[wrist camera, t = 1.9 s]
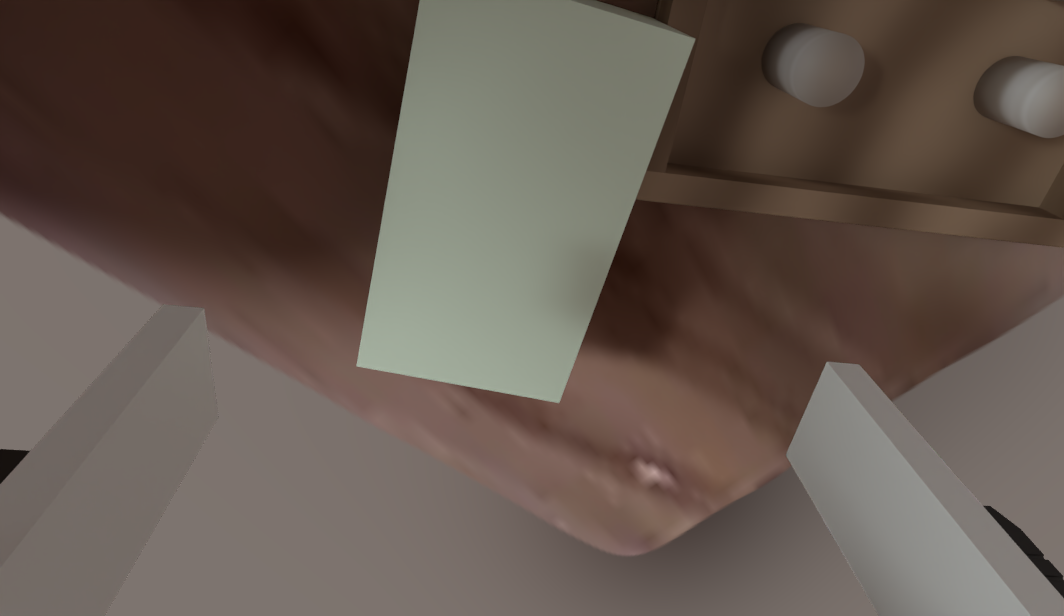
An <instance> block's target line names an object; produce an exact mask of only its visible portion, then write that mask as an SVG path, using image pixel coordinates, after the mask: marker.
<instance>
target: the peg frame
mask: <svg viewBox="0 0 1064 616" xmlns="http://www.w3.org/2000/svg"><path fill="white" fill-rule="evenodd" d="M654 19H656V20H658V21H660V22H662V23H664V24H666V25H668V26H670V27H672V28H674V29H676V30H678V31H681V32H683V33H685V34H687V35H689V36H691V37H693V38H695V42H694V45H693V47H692V50H691V53H690V55H689V58H688V61H687V63H686V66H685V69H684V71H683V74H682V77H681V79H680V82H679V85H678V87H677V90H676V93H675V95H674V98H673V101H672V103H671V106H670V109H669V111H668V114H667V117H666V119H665V122H664V125H663V127H662V130H661V133H660V135H659V138H658V141H657V143H656V146H655V149H654V151H653V154H652V157H651V159H650V162H649V165H648V167H647V170H646V173H645V175H644V178H643V181H642V183H641V186H640V189H639V191H638V194H637V197H636V199H635V200H644V201H653V202H661V203H670V204H679V205H688V206H697V207H706V208H715V209H724V210H733V211H742V212H751V213H760V214H769V215H778V216H787V217H796V218H805V219H814V220H822V221H831V222H840V223H849V224H858V225H867V226H876V227H885V228H894V229H903V230H912V231H921V232H930V233H939V234H948V235H957V236H966V237H975V238H983V239H992V240H1001V241H1010V242H1019V243H1028V244H1037V245H1046V246H1055V247H1064V0H658V4H657V8H656V13H655V18H654Z"/></svg>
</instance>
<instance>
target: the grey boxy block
mask: <svg viewBox="0 0 1064 616" xmlns="http://www.w3.org/2000/svg"><path fill="white" fill-rule="evenodd" d="M694 42H695V38H693V37H691V36H689V35H687V34H685V33H683V32H681V31H678V30H676V29H674V28H672V27H670V26H668V25H666V24H664V23H662V22H660V21H658V20H656V19H654V18H652V17H648V16H645V15H642V14H639V13H635V12H632V11H629V10H626V9H623V8H619V7H616V6H613V5H610V4H606V3H603V2H600V1H597V0H420V2H419V8H418V14H417V19H416V25H415V31H414V37H413V43H412V48H411V54H410V60H409V66H408V71H407V77H406V83H405V89H404V94H403V100H402V106H401V112H400V118H399V123H398V129H397V135H396V141H395V146H394V152H393V158H392V164H391V169H390V175H389V181H388V187H387V193H386V198H385V204H384V210H383V216H382V221H381V227H380V233H379V239H378V245H377V250H376V256H375V262H374V268H373V273H372V279H371V285H370V291H369V296H368V302H367V308H366V314H365V320H364V325H363V331H362V337H361V343H360V348H359V354H358V360H357V366H358V367H364V368H369V369H375V370H380V371H386V372H391V373H397V374H402V375H408V376H413V377H419V378H424V379H430V380H435V381H441V382H446V383H452V384H457V385H463V386H468V387H474V388H479V389H485V390H490V391H496V392H502V393H507V394H513V395H518V396H524V397H529V398H535V399H540V400H546V401H551V402H557V403H559V402H560V399H561V397H562V394H563V391H564V389H565V386H566V383H567V381H568V378H569V375H570V373H571V370H572V367H573V365H574V362H575V359H576V357H577V354H578V351H579V349H580V346H581V343H582V341H583V338H584V335H585V333H586V330H587V327H588V325H589V322H590V319H591V317H592V314H593V311H594V309H595V306H596V303H597V301H598V298H599V295H600V293H601V290H602V287H603V285H604V282H605V279H606V277H607V274H608V271H609V269H610V266H611V263H612V261H613V258H614V255H615V253H616V250H617V247H618V245H619V242H620V239H621V237H622V234H623V231H624V229H625V226H626V223H627V221H628V218H629V215H630V213H631V210H632V207H633V205H634V202H635V199H636V197H637V194H638V191H639V189H640V186H641V183H642V181H643V178H644V175H645V173H646V170H647V167H648V165H649V162H650V159H651V157H652V154H653V151H654V149H655V146H656V143H657V141H658V138H659V135H660V133H661V130H662V127H663V125H664V122H665V119H666V117H667V114H668V111H669V109H670V106H671V103H672V101H673V98H674V95H675V93H676V90H677V87H678V85H679V82H680V79H681V77H682V74H683V71H684V69H685V66H686V63H687V61H688V58H689V55H690V53H691V50H692V47H693V45H694Z"/></svg>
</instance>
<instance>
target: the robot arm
mask: <svg viewBox="0 0 1064 616" xmlns="http://www.w3.org/2000/svg"><path fill="white" fill-rule="evenodd" d="M218 417H219V416H218V408H217V401H216V393H215V386H214V379H213V371H212V363H211V356H210V348H209V341H208V333H207V326H206V318H205V311H204V308H198V307H186V306H175V305H162V306H161V307H160V308H159V310H158V311H157V312H156V313H155V314H154V315H153V316H152V317H151V318H150V319H149V321H148V322H147V323H146V324H145V325H144V326H143V327H142V328H141V330H140V331H139V332H138V333H137V334H136V335H135V336H134V337H133V338H132V339H131V341H130V342H129V343H128V344H127V345H126V346H125V347H124V348H123V349H122V351H121V352H120V353H119V354H118V355H117V356H116V357H115V358H114V359H113V360H112V362H111V363H110V364H109V365H108V366H107V367H106V368H105V369H104V371H102V373H101V374H100V375H99V376H98V377H97V378H96V379H95V380H94V381H93V382H92V384H91V385H90V386H89V387H88V388H87V389H86V390H85V391H84V392H83V394H82V395H81V396H80V397H79V398H78V399H77V400H76V401H75V402H74V403H73V405H72V406H71V407H70V408H69V409H68V410H67V411H66V412H65V413H64V415H63V416H62V417H61V418H60V419H59V420H58V421H57V422H56V424H54V426H53V427H52V428H51V429H50V430H49V431H48V432H47V433H46V435H44V437H43V438H42V439H41V440H40V441H39V442H38V443H37V444H36V445H35V447H34V448H33V449H32V450H31V451H23V450H6V449H1V450H0V616H105V615H106V613H107V611H108V609H109V608H110V606H111V604H112V602H113V601H114V599H115V597H116V595H117V594H118V592H119V590H120V588H121V587H122V585H123V583H124V581H125V580H126V578H127V576H128V574H129V573H130V571H131V569H132V567H133V566H134V564H135V562H136V560H137V559H138V557H139V555H140V553H141V552H142V550H143V548H144V546H145V545H146V543H147V541H148V539H149V538H150V536H151V534H152V533H153V531H154V529H155V527H156V526H157V524H158V522H159V520H160V518H161V517H162V515H163V513H164V512H165V510H166V508H167V506H168V505H169V503H170V501H171V499H172V497H173V496H174V494H175V492H176V491H177V489H178V487H179V485H180V484H181V482H182V480H183V478H184V477H185V475H186V473H187V472H188V470H189V468H190V466H191V465H192V463H193V461H194V459H195V457H196V456H197V454H198V452H199V450H200V449H201V447H202V445H203V444H204V441H205V440H206V438H207V437H208V435H209V433H210V431H211V430H212V428H213V426H214V424H215V423H216V421H217V419H218ZM786 457H787V458H788V460H789V462H790V463H791V465H792V467H793V469H794V470H795V472H796V474H797V476H798V477H799V479H800V481H801V483H802V484H803V486H804V487H805V489H806V491H807V493H808V495H809V496H810V498H811V499H812V502H813V503H814V505H815V507H816V509H817V510H818V512H819V514H820V515H821V517H822V519H823V521H824V522H825V524H826V526H827V528H828V529H829V531H830V533H831V534H832V536H833V538H834V539H835V541H836V543H837V545H838V547H839V548H840V550H841V552H842V554H843V555H844V557H845V558H846V561H847V562H848V564H849V566H850V567H851V569H852V571H853V573H854V574H855V576H856V578H857V579H858V581H859V583H860V585H861V586H862V588H863V590H864V592H865V594H866V595H867V597H868V599H869V600H870V602H871V604H872V606H873V607H874V609H875V611H876V613H877V614H878V616H1064V580H1063V575H1062V574H1061V573H1060V572H1059V571H1058V570H1057V569H1056V568H1055V567H1054V566H1053V564H1051V562H1050V561H1049V560H1045V559H1044V558H1043V556H1044V555H1043V553H1042V552H1041V551H1040V550H1039V549H1038V548H1037V547H1036V546H1035V545H1034V543H1033V542H1032V541H1031V540H1030V539H1029V538H1028V537H1027V536H1026V535H1025V533H1024V532H1023V531H1021V529H1020V528H1018V527H1017V526H1015V525H1014V524H1013V523H1012V522H1011V521H1009V520H1008V519H1007V518H1005V517H1004V516H1003V515H1001V514H1000V513H999V512H997V511H996V510H995V509H993V508H992V507H991V506H983V505H982V504H981V503H980V502H979V501H978V500H977V499H976V497H975V496H974V495H973V494H972V493H971V492H970V491H969V489H968V488H967V487H966V486H965V485H964V484H963V483H962V482H961V480H960V479H959V478H958V477H957V476H956V475H955V473H954V472H953V471H952V470H951V469H950V468H949V467H948V465H947V464H946V463H945V462H944V461H943V460H942V459H941V457H940V456H939V455H938V454H937V453H936V452H935V451H934V449H933V448H932V447H931V446H930V445H929V444H928V443H927V441H926V440H925V439H924V438H923V437H922V436H921V435H920V433H919V432H918V431H917V430H916V429H915V428H914V427H913V425H912V424H911V423H910V422H909V421H908V420H907V419H906V417H905V416H904V415H903V414H902V413H901V412H900V411H899V409H898V408H897V407H896V406H895V405H894V404H893V403H892V401H891V400H890V399H889V398H888V397H887V396H886V395H885V393H884V392H883V391H882V390H881V389H880V388H879V387H878V385H877V384H876V383H875V382H874V381H873V380H872V379H871V377H870V376H869V375H868V374H867V373H866V372H865V371H864V369H863V368H862V367H861V366H860V365H859V364H849V363H837V362H827V363H826V365H825V367H824V369H823V372H822V374H821V376H820V378H819V381H818V383H817V385H816V388H815V390H814V392H813V394H812V397H811V399H810V401H809V403H808V406H807V408H806V410H805V412H804V415H803V417H802V419H801V422H800V424H799V426H798V428H797V431H796V433H795V435H794V437H793V440H792V442H791V444H790V446H789V449H788V451H787V453H786Z"/></svg>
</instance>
